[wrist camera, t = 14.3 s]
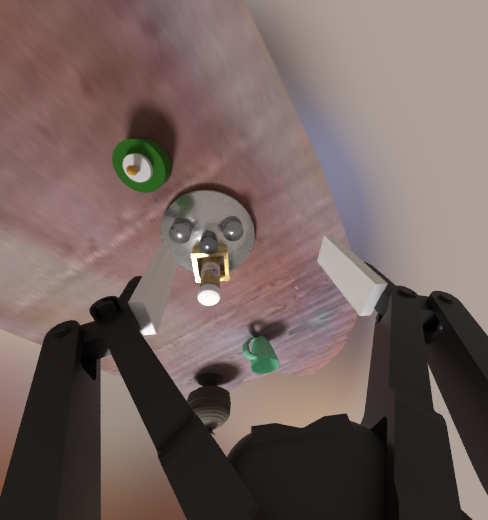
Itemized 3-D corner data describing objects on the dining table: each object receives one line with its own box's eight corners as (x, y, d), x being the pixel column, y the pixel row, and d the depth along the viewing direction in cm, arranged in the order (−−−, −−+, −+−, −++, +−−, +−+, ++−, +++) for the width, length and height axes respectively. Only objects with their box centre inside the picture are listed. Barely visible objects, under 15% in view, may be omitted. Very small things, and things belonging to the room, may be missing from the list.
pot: (178, 383, 82) (172, 444, 65) (209, 362, 79) (211, 421, 62) (206, 393, 91) (207, 449, 75) (235, 376, 88) (243, 430, 71)
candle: (144, 127, 34) (119, 124, 25) (180, 166, 38) (169, 175, 29) (117, 160, 36) (86, 167, 28) (154, 194, 40) (136, 209, 32)
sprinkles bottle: (222, 257, 48) (223, 293, 37) (216, 270, 50) (215, 308, 39) (205, 251, 47) (201, 287, 36) (199, 265, 49) (194, 303, 38)
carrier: (172, 274, 51) (168, 287, 47) (151, 190, 39) (142, 197, 35) (252, 269, 53) (255, 281, 49) (255, 188, 41) (259, 194, 37)
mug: (277, 338, 73) (285, 364, 65) (259, 350, 76) (263, 376, 68) (251, 322, 66) (256, 349, 58) (232, 336, 69) (234, 364, 61)
